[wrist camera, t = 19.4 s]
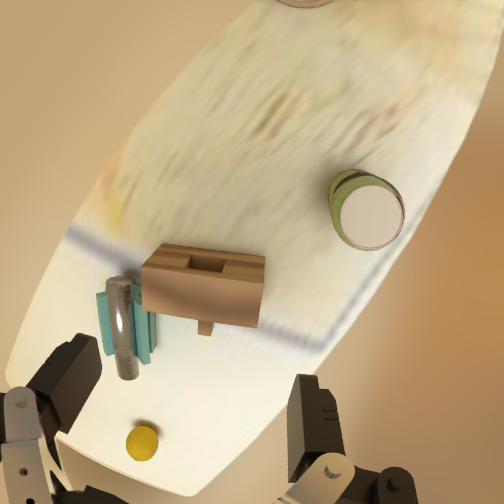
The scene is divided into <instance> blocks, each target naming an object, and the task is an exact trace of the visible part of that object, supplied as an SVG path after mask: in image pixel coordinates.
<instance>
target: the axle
mask: <svg viewBox="0 0 504 504" xmlns="http://www.w3.org/2000/svg"><path fill="white" fill-rule="evenodd" d="M106 287H107V298H108V308H109V317H110V325H111V333H112V340H113V347H114V353H115V359H116V365H117V371H118V375H119V377H120V378H121V379H123V380H134V379H136V378H137V377H138V376H139V368H138V359H137V350H136V340H135V329H134V317H133V302H132V283H131V280H130V279H129V278H127V277H123V276H116V277H112V278H110V279H108V280H107V281H106Z"/></svg>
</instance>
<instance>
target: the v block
mask: <svg viewBox="0 0 504 504" xmlns="http://www.w3.org/2000/svg"><path fill="white" fill-rule="evenodd" d="M96 299H97V307H98V315H99V322H100V329H101V335H102V342H103V347H104V352H105V354H106V356H109V355H112V354H115V353H114V347H113V340H112V333H111V325H110V317H109V308H108V298H107V287H106V292H102V293H97V294H96ZM132 302H133V317H134V329H135V340H136V350H137V357H138V358H139V359H140V361H141V362H142V363H143V365H145V364H148V363H151V362H150V353H152V352H153V350H154V348H155V346H156V327H155V313H154V312H149V311H144V310H142V288H141V285H135V284H132Z"/></svg>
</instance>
